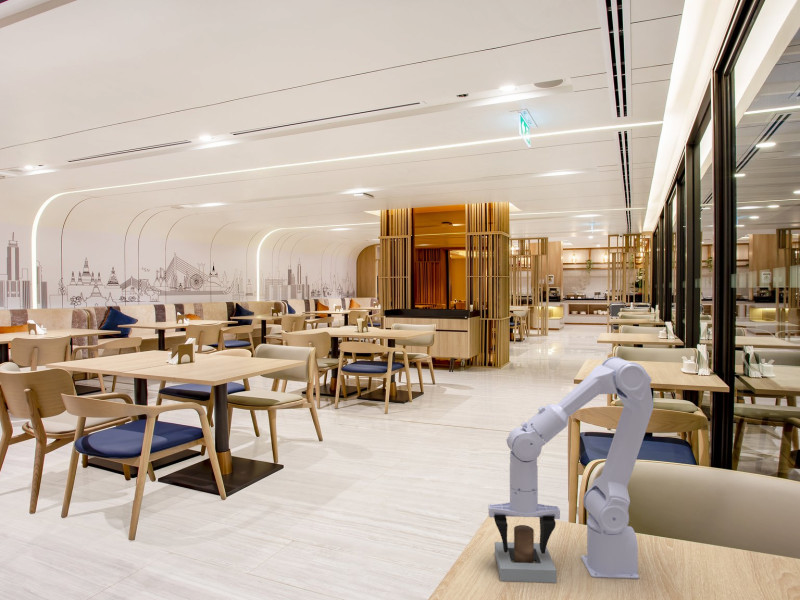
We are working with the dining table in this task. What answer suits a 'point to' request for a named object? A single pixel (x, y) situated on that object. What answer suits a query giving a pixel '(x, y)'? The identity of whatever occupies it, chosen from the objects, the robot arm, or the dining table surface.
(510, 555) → the socket block
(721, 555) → the dining table surface
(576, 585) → the dining table surface
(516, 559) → the plug
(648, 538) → the dining table surface
